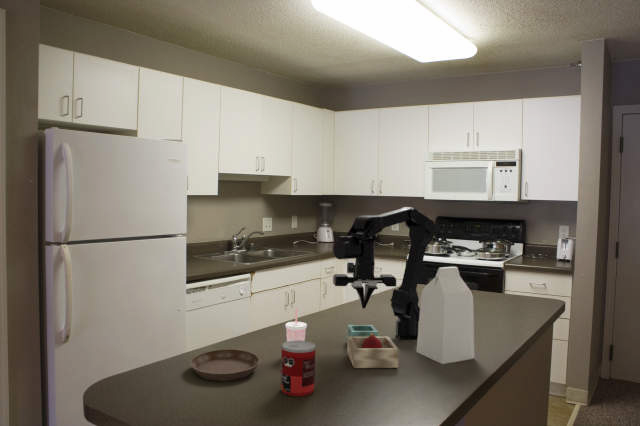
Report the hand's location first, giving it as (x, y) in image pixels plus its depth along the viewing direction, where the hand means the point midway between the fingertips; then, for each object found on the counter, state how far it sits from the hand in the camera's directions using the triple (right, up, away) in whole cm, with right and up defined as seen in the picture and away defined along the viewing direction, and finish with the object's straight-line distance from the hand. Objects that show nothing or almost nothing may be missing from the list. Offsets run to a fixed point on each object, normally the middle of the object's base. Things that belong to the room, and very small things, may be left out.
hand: (363, 308), depth 159 cm
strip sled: (0, -12, -7) cm, 14 cm away
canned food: (-19, -13, -36) cm, 42 cm away
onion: (+1, -13, -13) cm, 18 cm away
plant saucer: (-38, -12, -24) cm, 46 cm away
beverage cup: (-20, -12, -10) cm, 26 cm away
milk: (+23, -13, -6) cm, 27 cm away
